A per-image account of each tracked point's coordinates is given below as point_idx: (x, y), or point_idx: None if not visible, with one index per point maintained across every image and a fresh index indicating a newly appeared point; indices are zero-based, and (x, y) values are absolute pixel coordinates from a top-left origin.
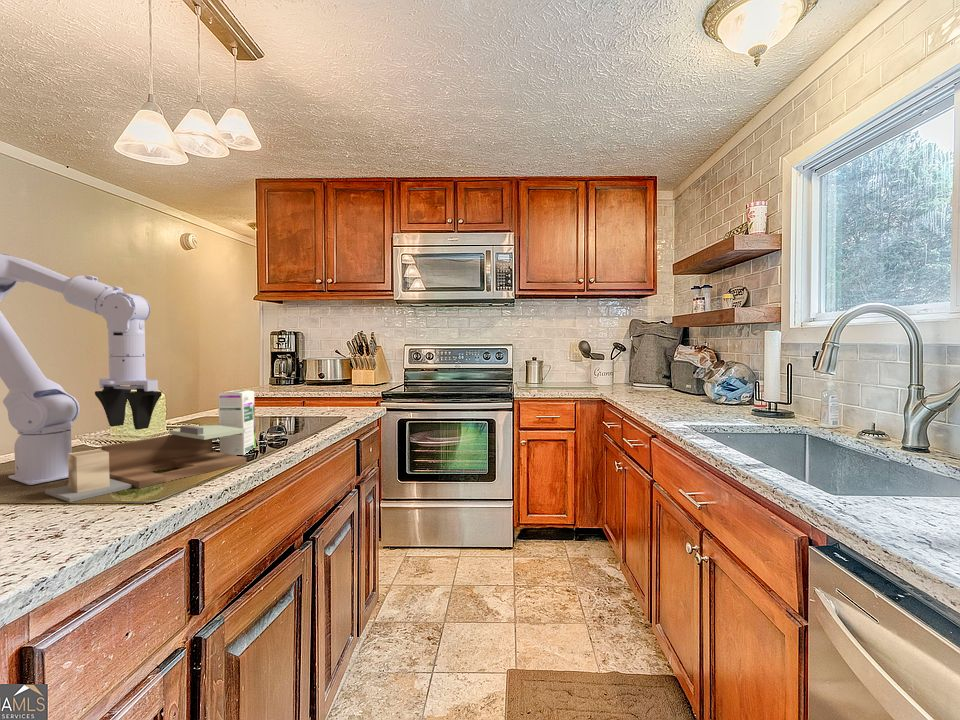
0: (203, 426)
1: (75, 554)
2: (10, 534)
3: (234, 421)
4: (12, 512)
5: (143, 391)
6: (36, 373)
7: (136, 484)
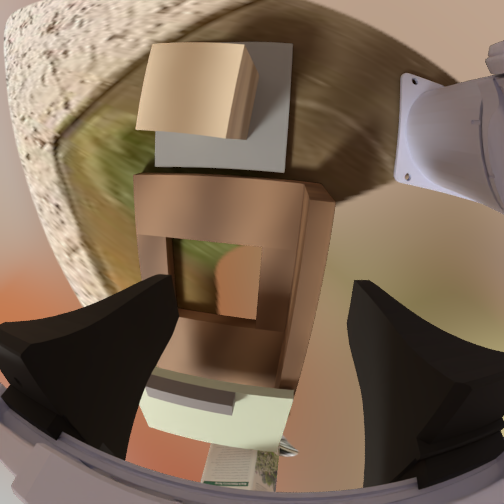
0: (261, 438)
1: (11, 45)
2: None
3: (222, 460)
4: None
5: (11, 389)
6: None
7: (147, 173)
